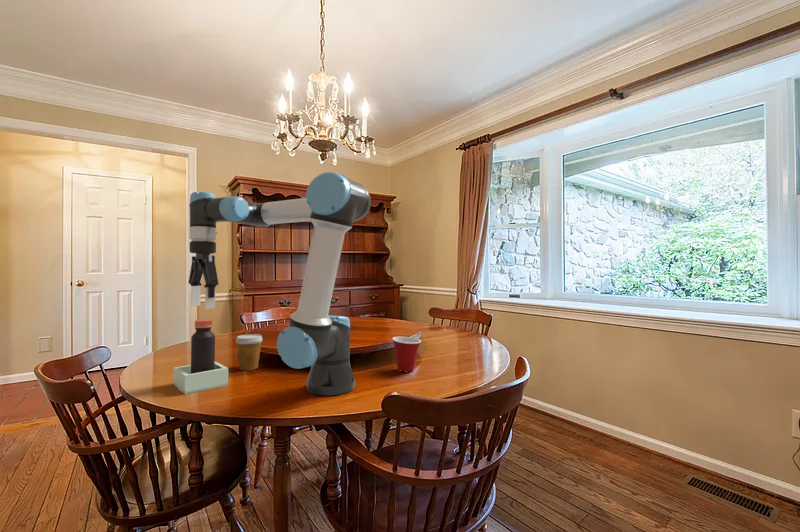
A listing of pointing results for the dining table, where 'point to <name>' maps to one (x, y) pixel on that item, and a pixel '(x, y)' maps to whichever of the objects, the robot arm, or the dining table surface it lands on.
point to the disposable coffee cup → (248, 351)
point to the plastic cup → (406, 352)
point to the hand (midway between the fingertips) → (202, 307)
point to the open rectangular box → (199, 378)
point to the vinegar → (202, 347)
